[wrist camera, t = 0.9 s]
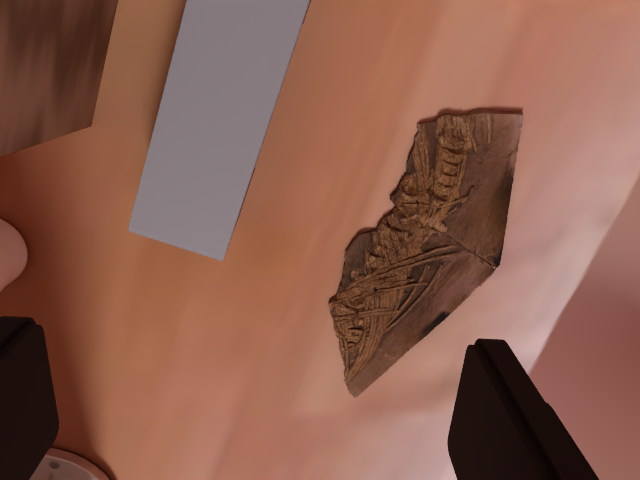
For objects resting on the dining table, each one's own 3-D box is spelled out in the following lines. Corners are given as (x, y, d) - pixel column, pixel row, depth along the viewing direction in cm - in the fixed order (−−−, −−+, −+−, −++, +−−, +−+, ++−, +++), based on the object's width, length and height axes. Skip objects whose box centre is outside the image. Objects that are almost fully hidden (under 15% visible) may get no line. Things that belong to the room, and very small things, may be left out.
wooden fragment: (447, 69, 33) (452, 70, 32) (576, 144, 35) (584, 147, 34) (280, 363, 41) (280, 370, 40) (394, 409, 43) (396, 418, 42)
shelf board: (228, 246, 33) (222, 261, 31) (140, 218, 32) (127, 230, 30) (334, -73, 27) (337, -86, 25) (229, -120, 26) (222, -137, 24)
